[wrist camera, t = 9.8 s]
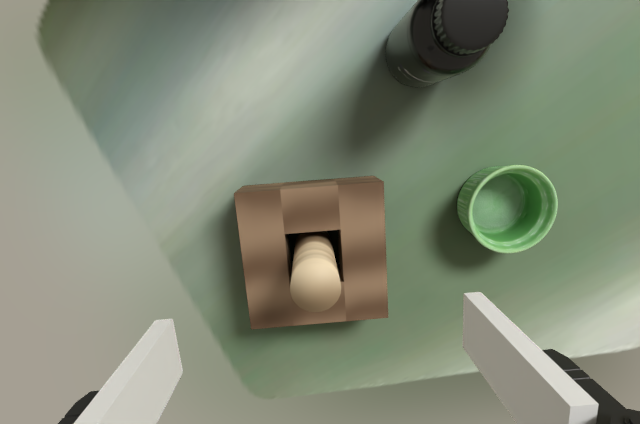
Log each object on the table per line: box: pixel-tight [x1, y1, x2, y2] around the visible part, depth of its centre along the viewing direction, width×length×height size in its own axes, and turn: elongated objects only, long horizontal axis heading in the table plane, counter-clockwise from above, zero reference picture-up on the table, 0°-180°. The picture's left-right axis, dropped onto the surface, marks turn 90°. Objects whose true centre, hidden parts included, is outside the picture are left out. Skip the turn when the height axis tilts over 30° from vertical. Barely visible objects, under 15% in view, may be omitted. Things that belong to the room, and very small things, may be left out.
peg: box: [290, 231, 341, 312], centre depth 33 cm, size 4×4×12 cm
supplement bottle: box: [386, 0, 509, 87], centre depth 30 cm, size 7×7×12 cm
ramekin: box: [457, 165, 558, 253], centre depth 37 cm, size 9×9×4 cm
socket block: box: [234, 176, 388, 329], centre depth 37 cm, size 14×14×5 cm
